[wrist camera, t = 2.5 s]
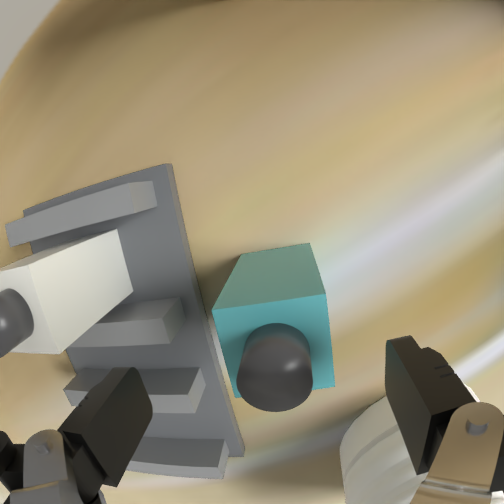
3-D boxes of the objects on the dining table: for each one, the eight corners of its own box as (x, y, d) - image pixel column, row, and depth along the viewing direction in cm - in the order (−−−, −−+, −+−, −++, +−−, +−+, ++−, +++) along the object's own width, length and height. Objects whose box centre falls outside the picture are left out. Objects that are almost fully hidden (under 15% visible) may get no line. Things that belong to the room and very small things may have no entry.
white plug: (116, 228, 18) (-6, 280, 9) (133, 291, 19) (33, 377, 10) (69, 240, 19) (-47, 289, 9) (85, 297, 20) (-15, 370, 10)
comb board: (171, 163, 18) (143, 162, 14) (245, 447, 23) (238, 484, 19) (31, 208, 20) (-6, 216, 16) (120, 442, 25) (104, 470, 21)
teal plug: (309, 243, 18) (333, 319, 9) (318, 306, 19) (341, 420, 10) (241, 254, 19) (197, 336, 9) (254, 316, 20) (227, 430, 10)
